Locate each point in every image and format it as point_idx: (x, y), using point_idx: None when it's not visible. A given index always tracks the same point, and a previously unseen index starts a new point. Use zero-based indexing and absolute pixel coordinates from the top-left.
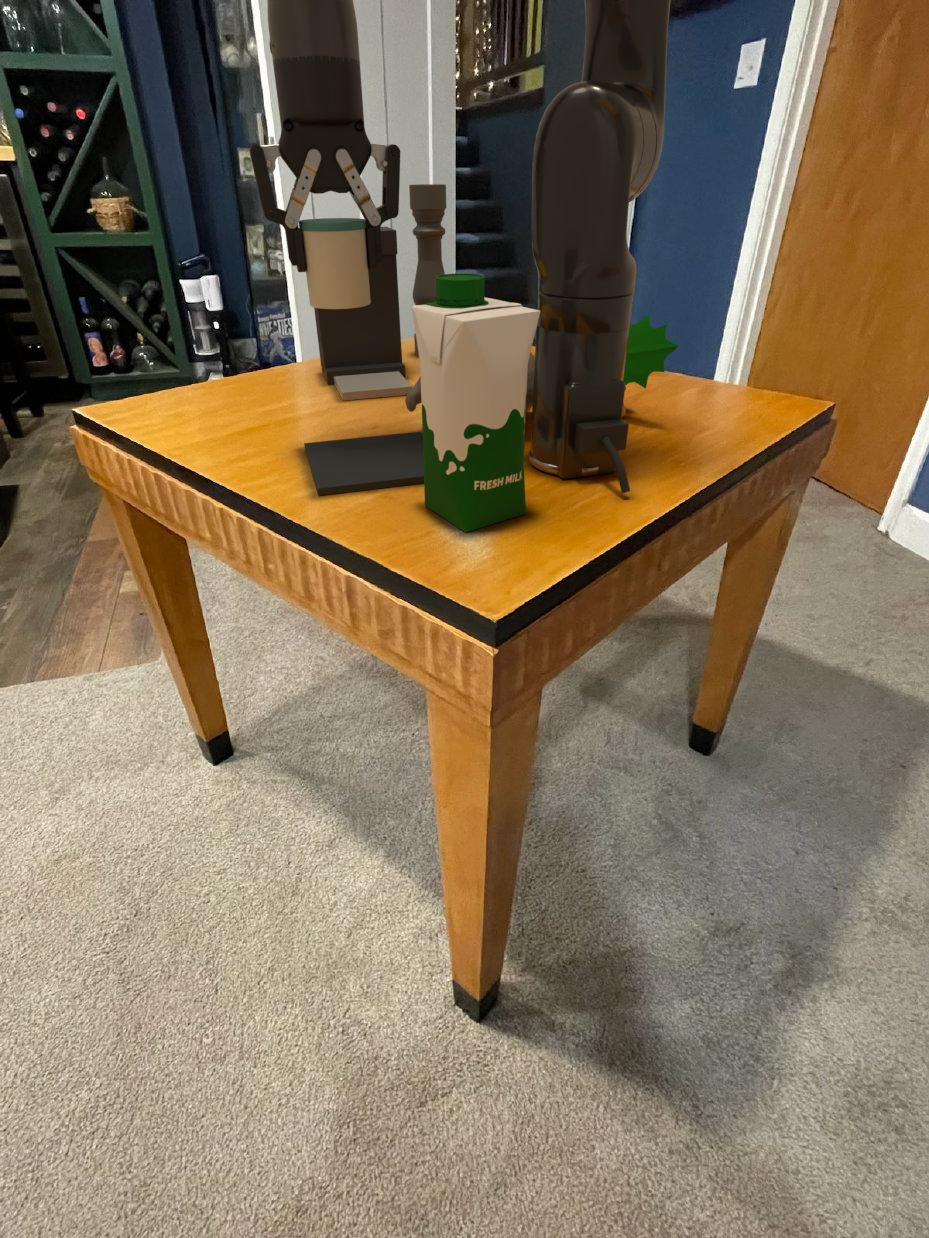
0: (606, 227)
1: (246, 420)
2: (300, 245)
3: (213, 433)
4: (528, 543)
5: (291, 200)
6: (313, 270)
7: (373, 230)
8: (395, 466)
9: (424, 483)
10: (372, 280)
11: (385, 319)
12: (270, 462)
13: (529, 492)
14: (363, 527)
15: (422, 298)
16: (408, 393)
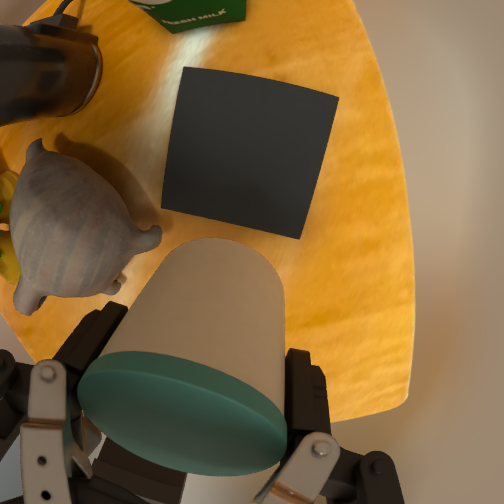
0: None
1: (314, 345)
2: (299, 394)
3: (356, 326)
4: None
5: (313, 502)
6: (279, 329)
7: (68, 357)
8: (233, 110)
9: (245, 3)
10: (128, 451)
11: None
12: (346, 220)
13: (137, 18)
14: (321, 11)
15: (93, 432)
16: (152, 243)
